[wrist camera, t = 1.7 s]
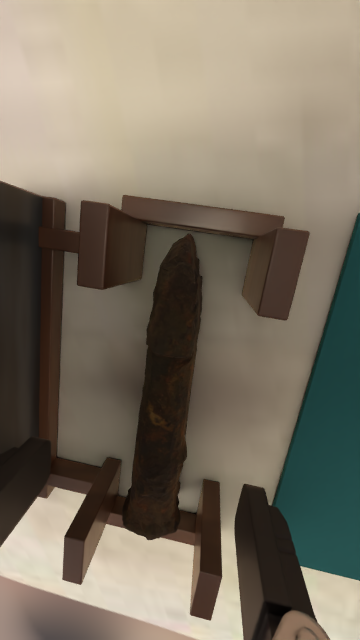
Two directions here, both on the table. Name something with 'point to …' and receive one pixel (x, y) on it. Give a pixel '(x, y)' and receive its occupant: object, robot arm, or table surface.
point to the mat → (329, 440)
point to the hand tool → (165, 395)
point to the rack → (45, 336)
